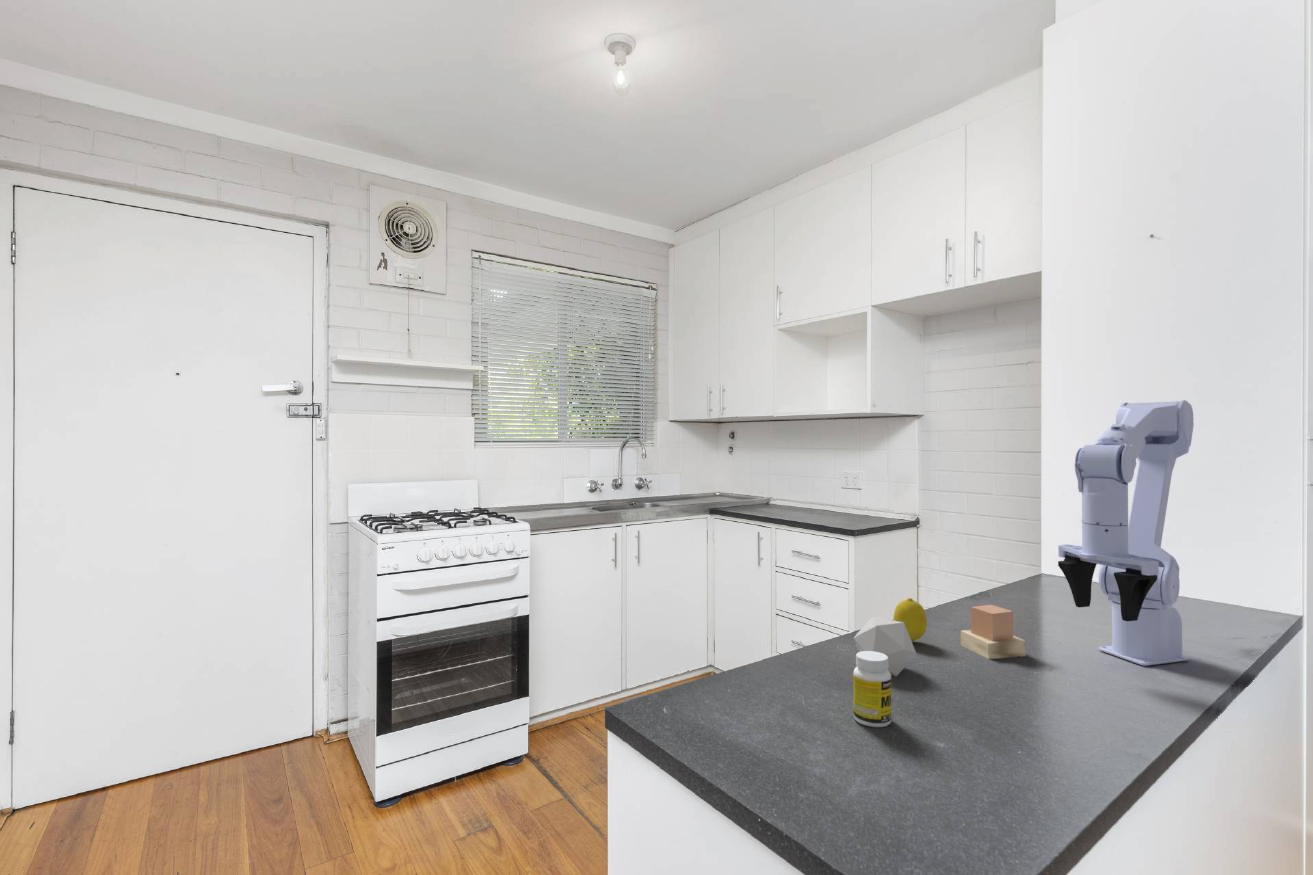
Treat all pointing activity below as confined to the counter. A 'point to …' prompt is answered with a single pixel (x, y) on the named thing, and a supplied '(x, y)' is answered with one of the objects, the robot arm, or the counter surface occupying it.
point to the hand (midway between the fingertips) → (1105, 613)
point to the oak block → (993, 646)
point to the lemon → (911, 618)
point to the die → (887, 642)
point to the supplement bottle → (872, 689)
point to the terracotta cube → (992, 622)
